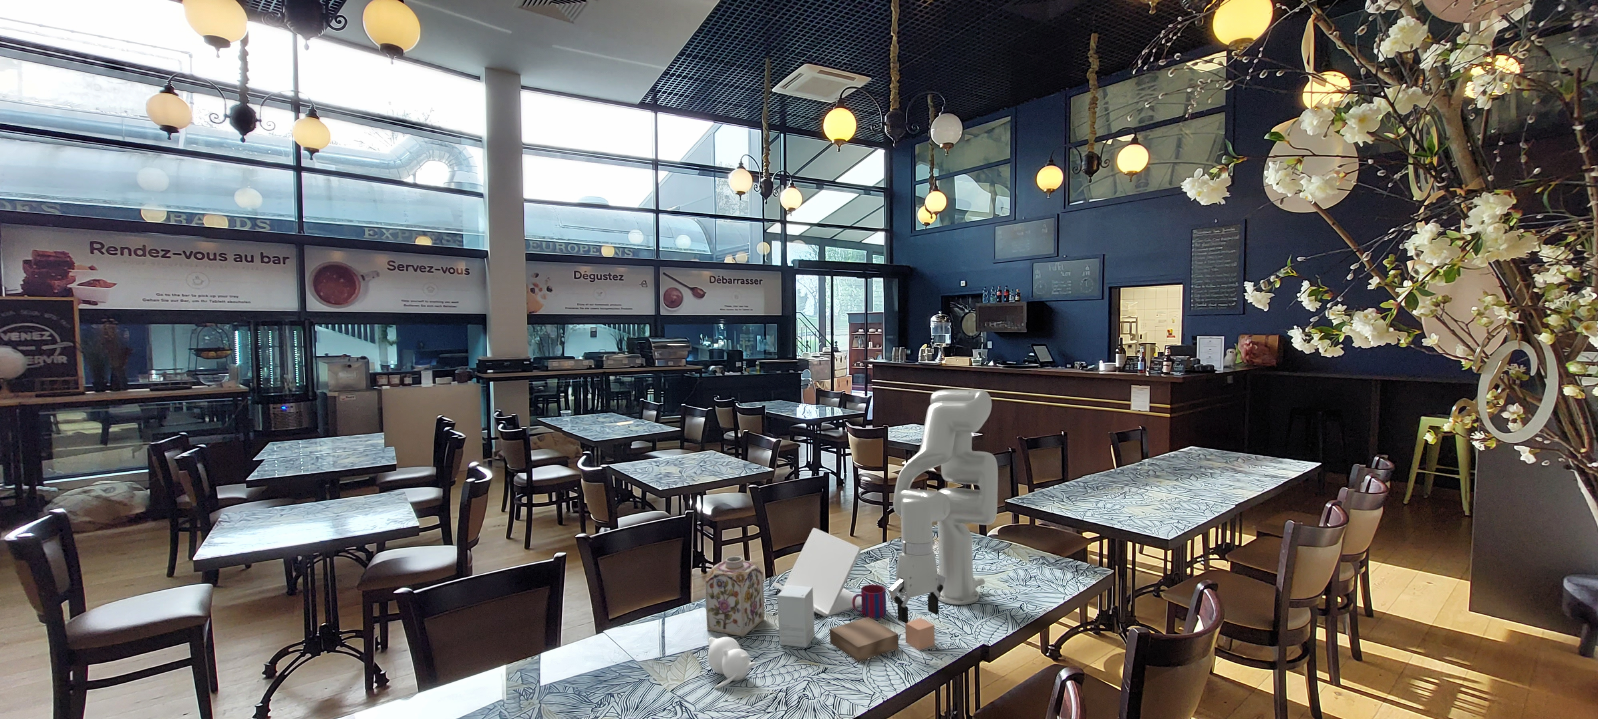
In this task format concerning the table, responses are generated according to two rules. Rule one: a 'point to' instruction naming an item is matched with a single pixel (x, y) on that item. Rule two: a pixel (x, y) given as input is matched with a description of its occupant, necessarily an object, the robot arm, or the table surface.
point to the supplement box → (796, 616)
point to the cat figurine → (728, 659)
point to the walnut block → (864, 639)
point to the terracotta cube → (920, 634)
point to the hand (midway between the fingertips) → (918, 616)
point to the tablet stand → (825, 572)
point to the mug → (872, 601)
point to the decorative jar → (734, 597)
